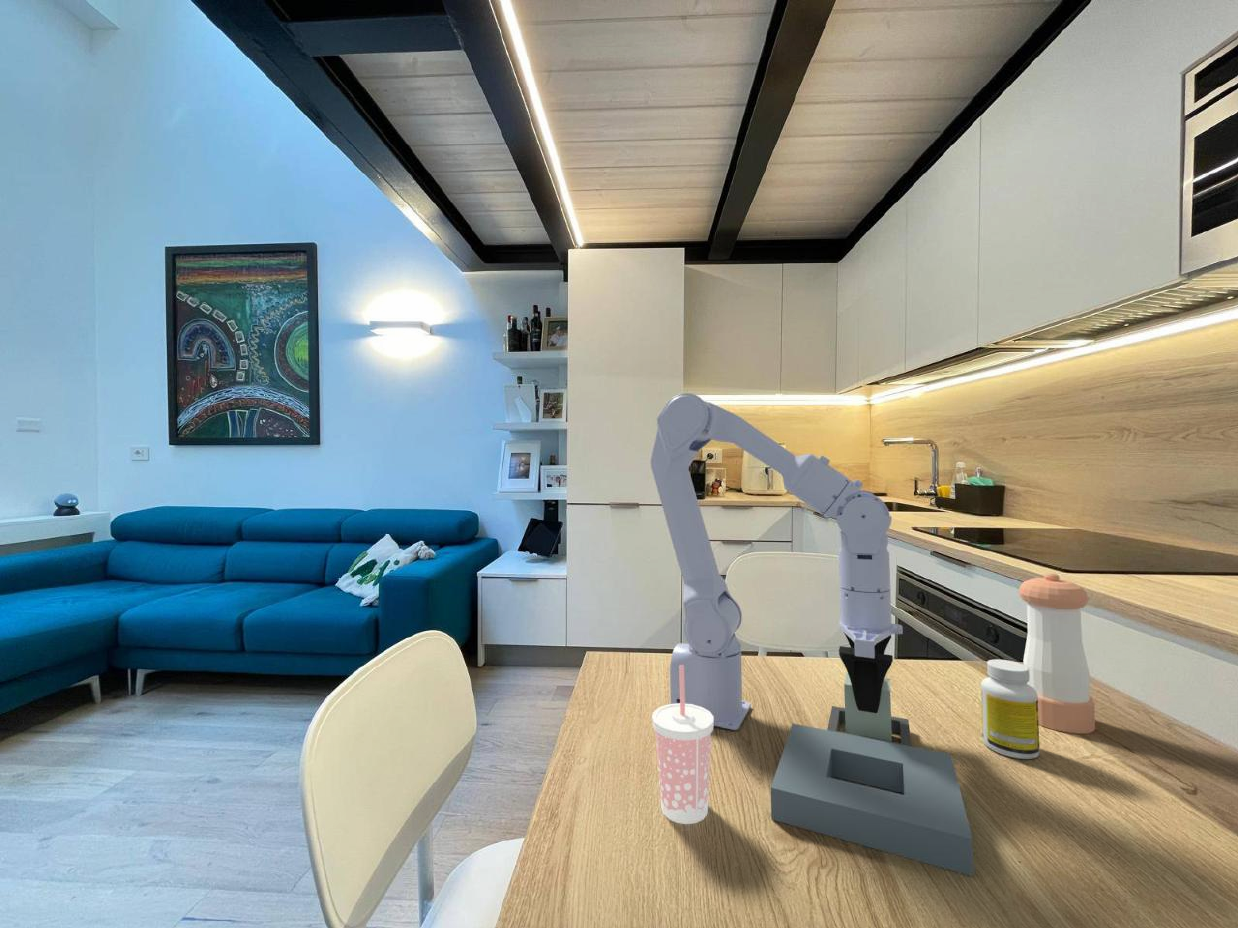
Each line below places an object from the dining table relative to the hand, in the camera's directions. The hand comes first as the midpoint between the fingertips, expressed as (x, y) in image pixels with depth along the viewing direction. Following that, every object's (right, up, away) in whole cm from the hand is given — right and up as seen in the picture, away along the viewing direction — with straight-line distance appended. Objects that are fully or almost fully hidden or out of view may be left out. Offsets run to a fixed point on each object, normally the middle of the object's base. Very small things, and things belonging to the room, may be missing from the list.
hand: (868, 697), depth 63 cm
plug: (0, -5, 0) cm, 5 cm away
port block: (-6, -5, -12) cm, 14 cm away
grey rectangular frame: (0, -5, 0) cm, 5 cm away
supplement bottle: (+15, -5, -3) cm, 16 cm away
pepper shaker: (+27, -5, +4) cm, 27 cm away
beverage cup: (-24, -5, -13) cm, 28 cm away
